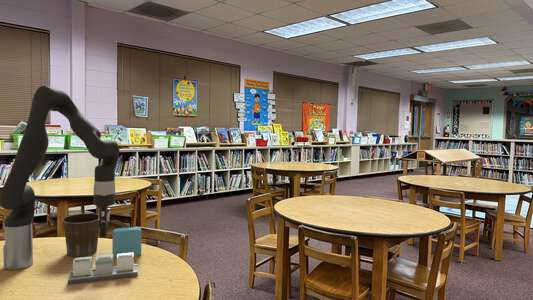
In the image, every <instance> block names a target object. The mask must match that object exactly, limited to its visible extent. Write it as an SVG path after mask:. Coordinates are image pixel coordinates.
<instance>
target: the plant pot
mask: <svg viewBox="0 0 533 300" xmlns="http://www.w3.org/2000/svg"><path fill="white" fill-rule="evenodd" d="M98 219H99V215H98V214H97V213H77V214H70V215H68V216H65V217H63V218H62V219H61V222H62V224H63V225H62V227H63V231H64V238H65V246H66V252H67V253H66V254H67V256H70V257H72V258H81V257H89V255H93V254H95V253H97V252H98V245H99V244H98V242H99V235H100V227H99V220H98Z"/></svg>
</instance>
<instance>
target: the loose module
mask: <svg viewBox="0 0 533 300" xmlns="http://www.w3.org/2000/svg"><path fill="white" fill-rule="evenodd" d="M94 263H95V265H94V266H95V268H94V269H95V276H96V275H105V274H113V267H114V257H113V254H102V255H96V256H95V261H94Z"/></svg>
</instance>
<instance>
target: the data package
mask: <svg viewBox="0 0 533 300" xmlns="http://www.w3.org/2000/svg"><path fill="white" fill-rule="evenodd" d="M111 236H112V237H111V238H112V246H111V247H112V252H111V253H112V254H113V258H115V259H117V254H122V253H132V252H134V257H137V256H140V255H141V254H142V229H141V227H140V226H134V227H133V226H132V227H119V228H115V229H113V231H112V235H111Z"/></svg>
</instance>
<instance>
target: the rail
mask: <svg viewBox="0 0 533 300" xmlns="http://www.w3.org/2000/svg"><path fill="white" fill-rule="evenodd" d="M134 257H135V256H134V252H132V253H122V254H117V258H116V265H115V266H113V274H105V275H96V276H95V268H93V256H83V257H74V259H73V261H72V270H71V271H70V274H69V276H68V279H67V285H69V286H70V285H76V284H77V285H78V284H85V283H94V282H101V281H109V280H118V279H125V278H126V279H128V278H135V277H138V275H139V273H138V271H139V270H138V264H137V263H136V264H135V263H134V261H135V260H134Z"/></svg>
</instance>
